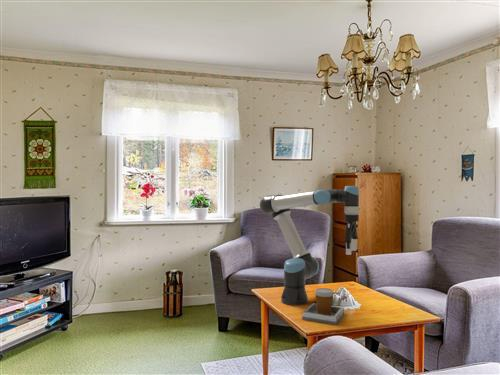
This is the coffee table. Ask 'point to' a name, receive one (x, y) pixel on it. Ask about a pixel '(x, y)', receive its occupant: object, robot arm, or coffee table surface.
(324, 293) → the disposable coffee cup
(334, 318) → the tray
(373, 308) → the coffee table surface
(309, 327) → the coffee table surface
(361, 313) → the coffee table surface
